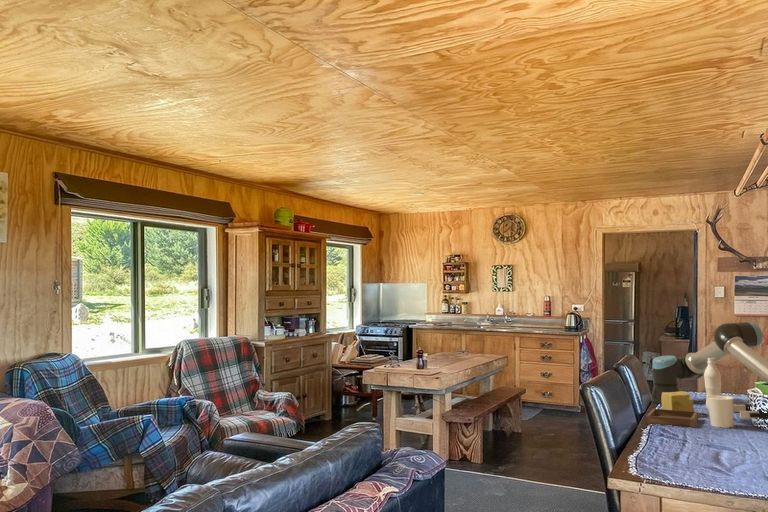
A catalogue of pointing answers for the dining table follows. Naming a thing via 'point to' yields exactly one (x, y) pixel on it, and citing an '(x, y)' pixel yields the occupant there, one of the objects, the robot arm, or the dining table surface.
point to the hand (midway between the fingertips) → (734, 411)
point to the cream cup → (721, 411)
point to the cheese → (677, 401)
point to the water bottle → (712, 380)
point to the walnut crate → (672, 417)
